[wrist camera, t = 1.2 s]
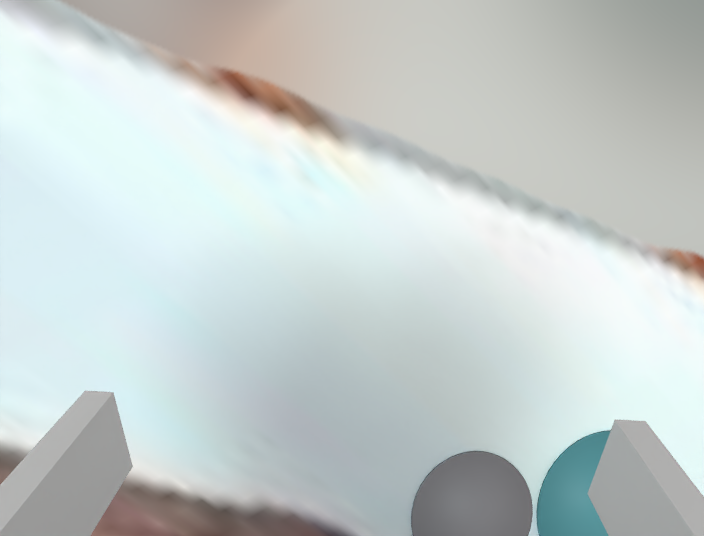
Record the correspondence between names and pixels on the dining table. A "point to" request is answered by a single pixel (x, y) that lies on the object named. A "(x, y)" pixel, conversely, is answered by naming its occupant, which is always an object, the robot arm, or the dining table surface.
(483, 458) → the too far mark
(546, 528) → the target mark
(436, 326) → the dining table surface
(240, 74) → the dining table surface
